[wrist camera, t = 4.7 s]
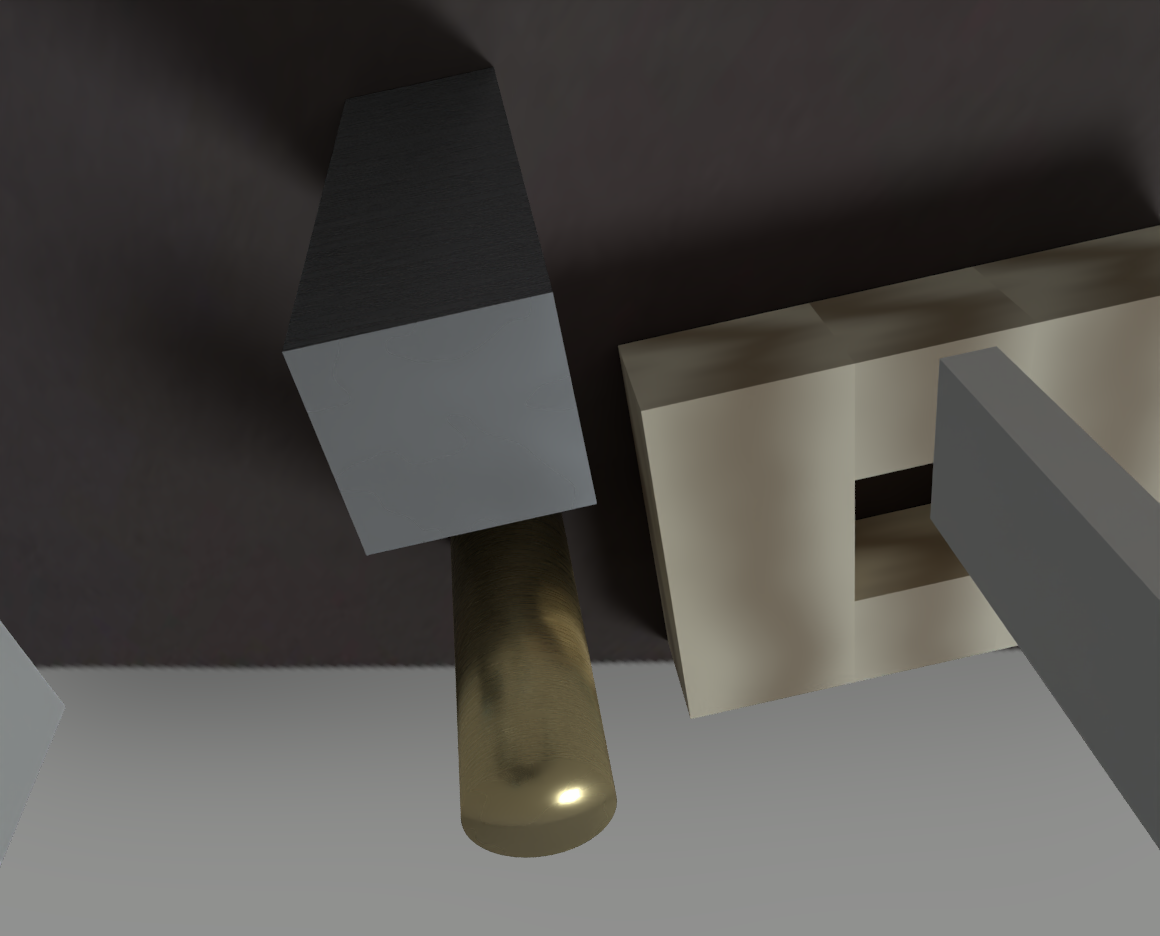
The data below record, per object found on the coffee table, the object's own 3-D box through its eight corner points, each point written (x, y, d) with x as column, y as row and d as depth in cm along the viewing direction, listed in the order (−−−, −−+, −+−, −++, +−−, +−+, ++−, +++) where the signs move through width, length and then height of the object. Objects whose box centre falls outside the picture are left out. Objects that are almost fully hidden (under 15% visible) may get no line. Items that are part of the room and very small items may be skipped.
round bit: (465, 572, 35) (481, 870, 25) (437, 489, 33) (442, 782, 23) (570, 549, 35) (626, 837, 25) (550, 464, 33) (603, 746, 23)
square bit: (389, 240, 27) (366, 555, 16) (345, 99, 25) (282, 351, 14) (524, 210, 27) (597, 503, 16) (493, 67, 25) (553, 292, 14)
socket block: (668, 641, 39) (690, 719, 35) (617, 345, 30) (641, 411, 27) (1096, 545, 39) (1157, 614, 35) (1162, 224, 30) (1250, 275, 27)
